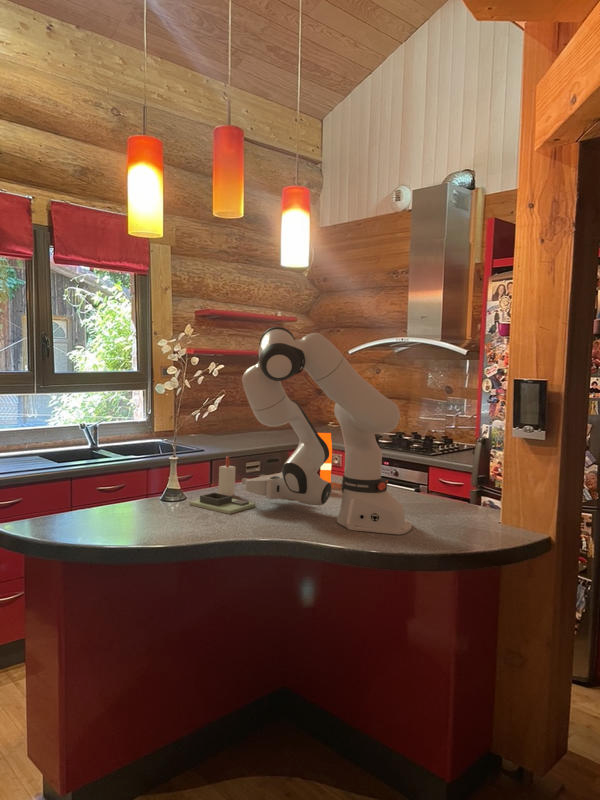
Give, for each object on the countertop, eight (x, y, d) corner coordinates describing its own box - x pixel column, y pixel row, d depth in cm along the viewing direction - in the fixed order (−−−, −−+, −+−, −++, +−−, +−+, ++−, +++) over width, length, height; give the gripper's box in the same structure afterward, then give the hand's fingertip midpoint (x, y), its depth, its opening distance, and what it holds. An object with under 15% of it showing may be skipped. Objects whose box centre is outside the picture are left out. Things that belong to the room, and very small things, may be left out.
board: (255, 506, 196) (255, 497, 196) (229, 514, 186) (229, 504, 185) (216, 497, 206) (216, 489, 206) (189, 504, 195) (189, 495, 195)
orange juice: (330, 485, 235) (333, 434, 234) (308, 484, 234) (310, 433, 233) (327, 481, 243) (329, 431, 242) (305, 480, 242) (307, 431, 240)
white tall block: (234, 494, 212) (235, 456, 211) (226, 496, 208) (228, 457, 207) (224, 492, 214) (225, 455, 213) (216, 494, 211) (218, 456, 210)
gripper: (303, 472, 204) (270, 466, 212) (268, 479, 187) (233, 473, 195) (301, 490, 205) (269, 484, 212) (266, 499, 188) (232, 492, 195)
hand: (251, 478), depth 203 cm, fingers open, 8 cm apart
